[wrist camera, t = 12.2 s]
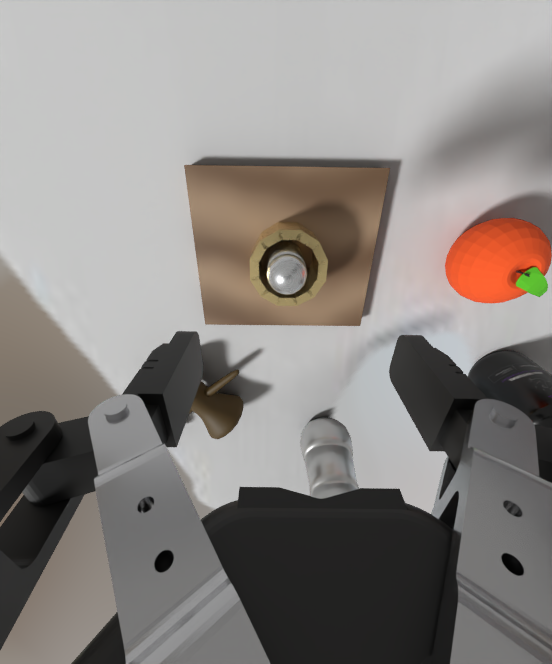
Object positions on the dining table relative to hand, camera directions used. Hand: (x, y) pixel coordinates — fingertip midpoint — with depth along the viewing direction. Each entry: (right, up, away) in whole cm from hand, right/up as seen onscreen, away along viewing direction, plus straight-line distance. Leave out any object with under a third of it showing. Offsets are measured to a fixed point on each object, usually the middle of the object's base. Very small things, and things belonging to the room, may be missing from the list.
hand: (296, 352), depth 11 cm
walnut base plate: (0, +8, +15) cm, 17 cm away
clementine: (+18, +8, +15) cm, 25 cm away
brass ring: (0, +8, +13) cm, 16 cm away
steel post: (0, +8, +13) cm, 16 cm away
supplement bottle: (+26, -4, +22) cm, 34 cm away
